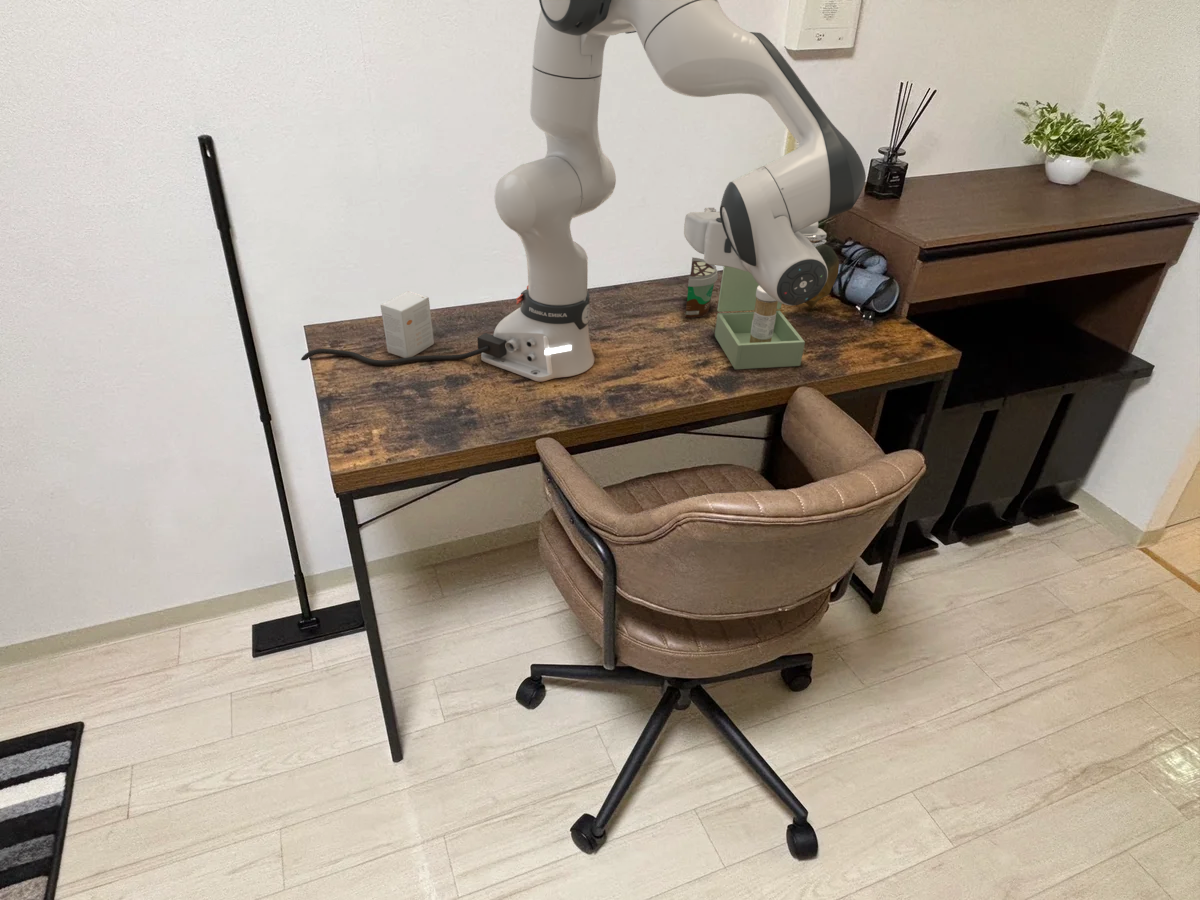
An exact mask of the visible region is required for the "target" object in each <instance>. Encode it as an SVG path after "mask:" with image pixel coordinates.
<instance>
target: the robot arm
mask: <svg viewBox="0 0 1200 900" xmlns="http://www.w3.org/2000/svg"><path fill="white" fill-rule="evenodd" d="M538 1H539V6H540V13H539V16H538V19H537V25H536V30H535V36H534V37H535V38H534V44H533V53H532V65H531V66H532V67H531V68H532V69H531V81H530V82H531V83H530V85H531V86H530V103H529V115H530V118H531V120H532V122H533V124H534V125H535V126H536V127H537V128H538V129H539V130H541V131H542V132H543V133H544V135H545V141H546V154H545V156H544V157H542V158H539V159H536V160H533V161H532V160H531V161H528V162H525V163H522V164H520V165H518V166H516V167H515V168H513V169H511V170H510V171H509V172H508V173H506V174H504V175H503V176H502V177H501V178H500V179H499V180H497V183H496V185H495V188H494V200H493V201H494V206H495V209H496V212H497V215H498V217H499V218H500V220H501V221H502V222H503V224H504V225H505V226H506V227H507V228H509V229H510V230H511V231H513V232H514V233H515V234H516V235H517V236H518V238H519V239H520V241H521V244H522V246H523V249H524V252H525V258H526V269H527V286H526V289H524V290H523V291H521V292H520V295H519V296H518V297H516V299H515V300H516V303H515V304H516V305H519V304H520V306H519V307H518V308H516V309H515V310H514V311H513V310H512V312H510V313H509V314H507V315H506V316H505V317H503V318H502V319H501V320H500V321H499V322H498V323H497V325H496V327H495V328H494V331H493V334H491V333H487V332H484V333H483V334H480V335H479V336H478V337H477V339H476V340H477V349H475V350H472V351H469V352H466V353H460V354H446V355H445V354H442V355H440V354H439V355H436V354H435V355H434V354H433V355H432V354H431V355H429V354H428V355H415V356H413V357H407V358H403V357H400V358H396V359H383V360H382V359H375V358H374V359H373V358H369V357H367V356H364V355H362V354H360V353H357V352H354V351H349V350H341V349H334V348H333V349H332V348H317V349H312V350H310V351H308V352H306V353H305V354H304V355H303V356H302V357H301V359H300V361H307V360H308V359H310V358H311V357H313V356H316V355H335V356H345V357H351V358H354V359H356V360H359V361H362V362H364V363H366V364H370V365H374V366H394V365H402V364H406V363H414V362H422V361H423V362H425V361H459V360H465V359H468V358H471V357H474V356H478V355H480V359H481V361H482V362H483V363H486V364H489V365H491V366H494V367H497V368H500V369H503V370H505V371H507V372H510V373H514V374H516V375H519V376H521V377H524V378H527V379H530V380H532V381H535V382H539V383H540V382H541V383H542V382H547V381H549V380H553V379H559V378H568V377H574V376H577V375H580V374H583V373H585V372H587V371H588V370H590V369H591V368H592V367H593V366H594V364H595V356H594V352H593V349H592V343H591V339H590V330H589V322H590V316H591V315H590V314H591V304H590V303H591V302H590V292H589V290H588V279H589V275H588V273H589V257H588V253H587V251H586V249H585V248H584V247H583V246H582V245H580V244H579V243H578V242H576V241H574V239H573V235H572V231H571V223H572V220H573V219H576V218H577V217H580V216H583V215H585V214H589V213H591V212H593V211H595V210H596V209H597V208H599V207H600V206H601V205H603V204H604V203H605V202H607V200H608V199H610V197H611V196H612V195H613V194H614V191H615V188H616V184H617V176H616V171H615V167H614V164H613V163H612V161H611V160H610V158H609V157H608V155H606V154H605V153H604V150H603V148H602V146H601V140H600V134H599V133H600V132H599V108H600V106H599V105H600V98H601V88H602V76H603V67H604V56H605V55H604V53H605V47H606V43H607V41H608V39H609V38H610V37H611V36H616V35H619V34H625V35H626V34H635V33H636V34H637V36H638V39H639V41H640V44H641V45H642V48H643V50H644V52H645V54H646V56H647V59H648V60H649V63H650V65H651V67H652V69H653V70H654V72H655V73H656V75H657V76H658V78H659V79H660V81H661V83H662V84H663V85H664V86H665V87H666V88H667V89H669V90H670V91H672V92H674V93H676V94H679V95H682V96H686V97H692V98H710V97H717V96H724V95H738V94H739V95H741V94H742V95H751V96H755V97H759V98H761V99H763V100H764V101H766V102H767V103H768V104H769V105H770V106H771V108H772V109H773V111H774V112H775V113H776V114H777V116H778V117H779V119H780V120H781V122H782V123H783V124H784V126H785V127H786V129H787V131H789V133H790V134H791V136H792V137H793V139H794V140H795V141H796V143H797V144H798V147H797V148H795V149H794V150H792V151H790V152H788V153H786V154H784V155H782V156H780V157H778V158H775V159H774V160H772V161H769V162H768V163H766V164H763V165H761V166H758V167H756V168H754V169H753V170H751V171H749V172H746V173H744V174H743V175H740V176H739V177H737V178H735V179H734V180H732V181H729V182H728V184H727V185H726V187H725V189H724V192H723V195H722V198H721V202H720V207H719V211H717V209H715V207H704V209H703V211H690V212H688V213H687V214H685V217H684V223H683V236H684V238H685V240H686V242H687V243H688V244H689V245H690V246H691V248H692V249H693V250H694V251H696V252H697V253H699V254H702V255H703V259H704V261H705V262H706V263H707V264H710V265H715V266H718V267H724V266H726V267H732V268H736V269H740V270H743V271H747V272H749V273H751V274H752V275H753V277H754V279H755V281H756V282H757V283H758V284H759V286H760V287H761V288H762V289H763V290H764V291H765V292H766V293H767V294H768V295H769V296H771V297H772V298H773V299H775V300H776V301H778V302H780V303H782V305H784V306H794V307H795V306H800V305H802V304H806V303H805V302H807V301H809V300H811V299H812V298H814V297H815V296H816V295H818V294H819V292H820V291H821V290H822V289H823V287H824V285H825V283H826V281H827V277H828V269H827V266H826V264H825V262H824V260H823V258H822V256H821V255H820V253H819V252H818V250H817V249H816V248H815V247H816V246H815V244H816V243H820V242H821V241H822V240H827V237H828V236H827V232H826V231H824V229H822V228H819V222H820V221H822V220H824V219H830V218H832V217H834V216H837V215H840V214H842V213H845V212H848V211H850V210H852V209H853V207H854V206H855V205H856V203H857V202H858V200H859V198H860V195H861V194H862V191H863V189H864V187H865V183H866V178H867V175H866V169H865V167H864V164H863V162H862V158H861V157H860V155H859V153H858V152H857V151H856V149H855V147H854V146H853V145H852V143H851V142H850V141H849V140H848V139H847V138H846V136H844V134H843V133H842V132H841V131H840V130H839V129H838V128H837V127H836V126H835V125H834V123H832V121H831V119H830V118H829V117H828V116H827V115H826V113H825V112H824V111H823V109H822V107H821V106H820V105H819V103H818V102H817V101H816V100H815V98H814V97H813V96H812V94H811V92H810V91H809V89H808V88H807V87H806V86H805V84H804V83H803V82H802V80H801V79H800V77H799V76H798V75H797V73H796V72H795V70H794V69H793V68H792V67H791V65H790V63H789V62H788V61H787V59H786V58H784V56H783V54H782V53H781V52H780V51H779V50H778V49H777V47H776V46H775V45H774V44H773V42H772V41H771V40H769V38H768V37H766V36H765V35H764V34H763V33H762V32H756V31H748V30H745V29H744V28H742V27H740V26H739V25H737V24H736V23H735V22H734V21H733V20H731V19H730V17H728V15H727V14H726V13H725V12H724V10H723V9H722V6H721V4H720V2H719V0H538Z"/></svg>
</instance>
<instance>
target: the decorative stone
mask: <svg viewBox="0 0 1200 900" xmlns="http://www.w3.org/2000/svg"><path fill="white" fill-rule="evenodd" d="M815 248H816V249H817V250H818V252H819V253H820V255H821V256H822V258H823V260H824V262H825V264H826V266H827V269H828V277H827V281H826V283H825V285H824V287H823V289H822V290H821V291H820V292H819V294H818V295H816V296H815V297H814V298H812V299H811V300H809V301H807V302H805V303H804V304H806V305H807V308H808V309H814V308H815V307H816V305H817V303H818V302H819V301H820V300H822V299H823V298H825V297H828V295H830V294H831V291H832V289H833V287H834V285H835V283H836V280H837V279H838V275H839V269H840V261H839V257H838V255H837V253H836V251H835V250H834V249H833V248H832V247H831V246H830V245H827V244H825V243H822V244H819V245H816V246H815Z"/></svg>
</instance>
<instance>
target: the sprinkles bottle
mask: <svg viewBox="0 0 1200 900" xmlns="http://www.w3.org/2000/svg"><path fill="white" fill-rule="evenodd" d="M777 304H778V301H776V300H775V299H773V298H772V297H771V296H769V295H768V294H767V293H766V292H765V291H764V290H763V289H762V288H761V287H760V286H758V287H757V290H756V303H755V309H754V310H753V312H754V315H753V320H752V327H751V336H750V343H758V342H771V339H772V336H773V330H774V324H775V318H776V311H778V309H777Z"/></svg>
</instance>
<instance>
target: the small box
mask: <svg viewBox="0 0 1200 900" xmlns="http://www.w3.org/2000/svg"><path fill="white" fill-rule="evenodd" d="M380 311H381V319H382V323H383V330H384V336H385V342H386V349H387V353H388V354H392V355H395V356H397V357H400V358H407V357H414V356H417V355H418V354H419V353H422V352H423V351H425V350H427V349H428V348H430V347H431V346H433V345H435V340H434V329H433V323H432V322H433V321H432V314H431V313H432V312H431V304H430V297H428V296H426V295H423V294H419V293H416V292H413V291H410V290H407V291H405V292H403V293H401V294H399V295H396V296H395V297H393V298H391V299H388V300H387V301H385V302H383V303H381V304H380Z"/></svg>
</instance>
